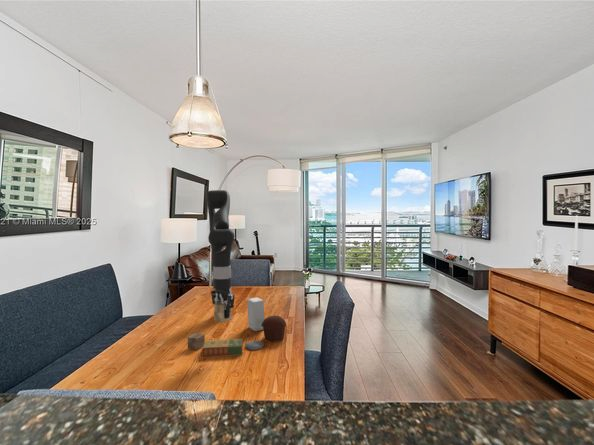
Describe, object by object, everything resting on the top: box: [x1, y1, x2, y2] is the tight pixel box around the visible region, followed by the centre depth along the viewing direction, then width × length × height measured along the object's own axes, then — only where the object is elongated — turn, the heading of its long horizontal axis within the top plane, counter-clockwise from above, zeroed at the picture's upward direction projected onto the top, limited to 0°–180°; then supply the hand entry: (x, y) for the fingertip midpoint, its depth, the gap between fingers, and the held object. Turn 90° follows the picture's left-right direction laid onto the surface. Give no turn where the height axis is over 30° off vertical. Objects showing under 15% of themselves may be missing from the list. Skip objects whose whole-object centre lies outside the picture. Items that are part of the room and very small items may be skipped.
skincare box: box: [246, 296, 266, 332], centre depth 158 cm, size 8×6×15 cm
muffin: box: [261, 315, 287, 343], centre depth 146 cm, size 12×11×10 cm
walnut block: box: [187, 332, 206, 351], centre depth 137 cm, size 5×5×5 cm
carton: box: [201, 338, 244, 358], centre depth 132 cm, size 8×16×4 cm, turn 98°
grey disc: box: [244, 340, 265, 351], centre depth 137 cm, size 8×8×1 cm
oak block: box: [213, 301, 232, 324], centre depth 131 cm, size 5×5×7 cm
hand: (222, 316), depth 131 cm, fingers closed on oak block, 5 cm apart
